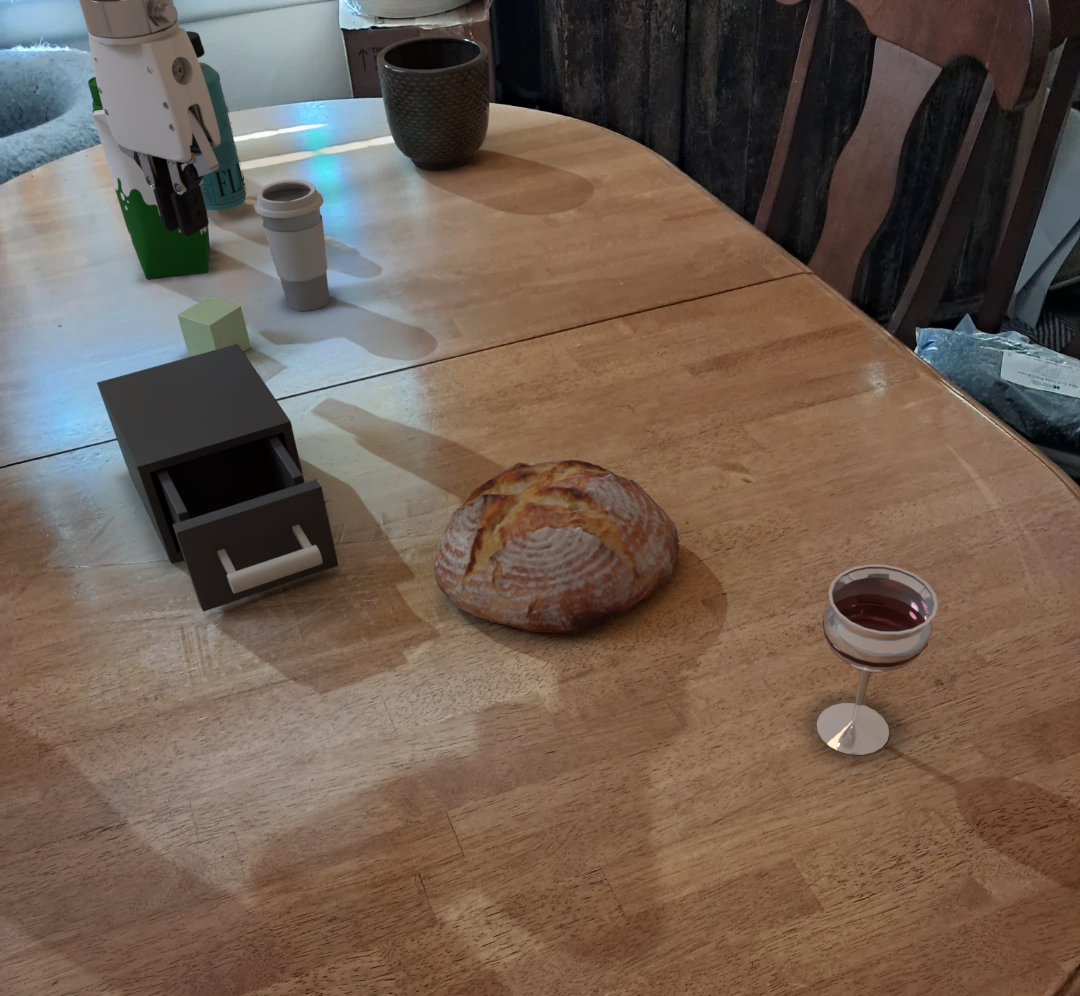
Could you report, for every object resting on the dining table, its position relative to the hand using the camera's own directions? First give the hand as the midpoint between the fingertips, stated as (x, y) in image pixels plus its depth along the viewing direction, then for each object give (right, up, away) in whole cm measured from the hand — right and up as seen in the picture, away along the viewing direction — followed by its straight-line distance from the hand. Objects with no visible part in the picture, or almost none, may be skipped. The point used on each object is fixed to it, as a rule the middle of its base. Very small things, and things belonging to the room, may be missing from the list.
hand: (187, 226), depth 111 cm
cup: (+8, -1, +17) cm, 19 cm away
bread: (+35, -36, -17) cm, 53 cm away
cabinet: (+5, -28, -8) cm, 29 cm away
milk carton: (-8, +6, +25) cm, 27 cm away
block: (0, -9, +10) cm, 13 cm away
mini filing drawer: (+11, -34, -16) cm, 39 cm away
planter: (+21, +27, +42) cm, 54 cm away
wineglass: (+56, -48, -30) cm, 80 cm away
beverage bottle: (-6, +16, +34) cm, 38 cm away
